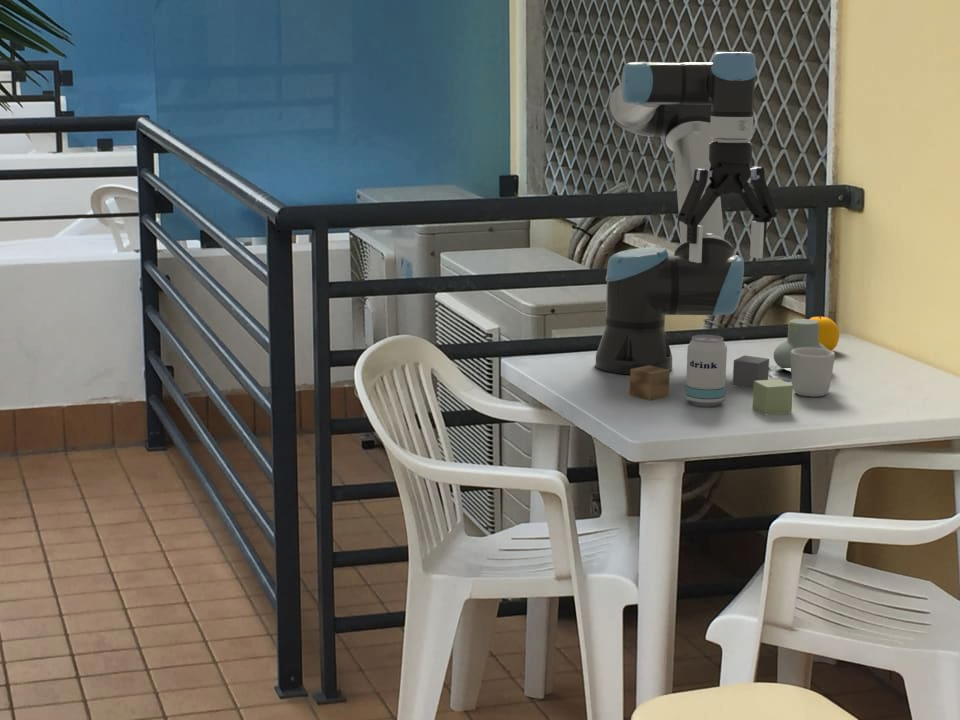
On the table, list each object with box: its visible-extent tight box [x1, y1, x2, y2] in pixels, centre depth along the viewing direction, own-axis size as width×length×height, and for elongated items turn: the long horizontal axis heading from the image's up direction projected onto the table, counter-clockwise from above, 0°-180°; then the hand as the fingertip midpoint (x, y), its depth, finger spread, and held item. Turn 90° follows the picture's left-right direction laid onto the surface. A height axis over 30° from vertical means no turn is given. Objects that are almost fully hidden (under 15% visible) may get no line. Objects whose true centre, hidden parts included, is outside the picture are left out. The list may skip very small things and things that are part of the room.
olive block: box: [752, 378, 794, 415], centre depth 259 cm, size 5×5×5 cm
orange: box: [809, 315, 840, 351], centre depth 306 cm, size 8×8×8 cm
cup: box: [790, 347, 836, 398], centre depth 271 cm, size 11×8×8 cm
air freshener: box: [773, 318, 828, 369], centre depth 288 cm, size 11×8×10 cm
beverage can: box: [685, 334, 728, 408], centre depth 263 cm, size 7×7×12 cm
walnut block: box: [629, 365, 671, 401], centre depth 269 cm, size 5×5×5 cm
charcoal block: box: [732, 354, 770, 390], centre depth 277 cm, size 5×5×5 cm
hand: (726, 259), depth 265 cm, fingers open, 13 cm apart
